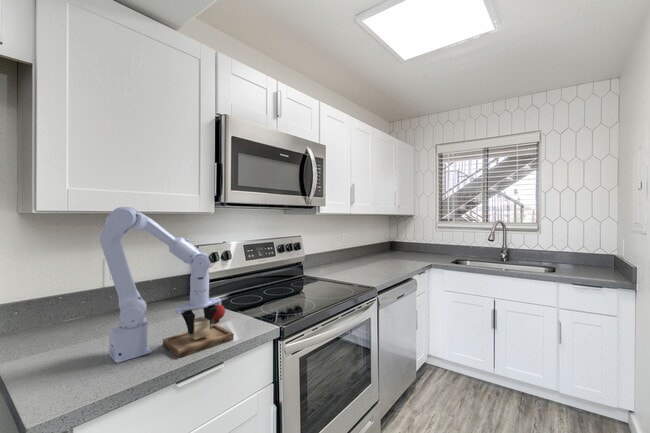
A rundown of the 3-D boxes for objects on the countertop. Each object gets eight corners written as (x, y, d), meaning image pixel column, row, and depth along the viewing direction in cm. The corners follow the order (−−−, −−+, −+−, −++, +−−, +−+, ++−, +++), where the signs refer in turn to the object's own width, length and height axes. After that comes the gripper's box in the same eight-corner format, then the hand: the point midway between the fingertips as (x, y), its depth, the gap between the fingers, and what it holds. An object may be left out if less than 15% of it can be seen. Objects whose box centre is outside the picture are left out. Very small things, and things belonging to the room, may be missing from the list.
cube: (194, 339, 98) (194, 324, 98) (187, 335, 101) (187, 320, 101) (209, 335, 101) (209, 320, 101) (202, 331, 105) (202, 316, 105)
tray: (178, 358, 90) (179, 350, 90) (162, 345, 98) (162, 338, 98) (233, 339, 104) (233, 333, 104) (215, 330, 112) (215, 324, 112)
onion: (219, 324, 117) (219, 303, 117) (206, 323, 119) (206, 302, 118) (227, 319, 123) (227, 299, 123) (214, 318, 124) (214, 298, 124)
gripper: (214, 283, 109) (213, 322, 109) (171, 291, 98) (171, 333, 98) (224, 287, 104) (224, 327, 104) (181, 295, 93) (180, 340, 94)
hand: (199, 330), depth 101 cm, fingers closed on cube, 5 cm apart
